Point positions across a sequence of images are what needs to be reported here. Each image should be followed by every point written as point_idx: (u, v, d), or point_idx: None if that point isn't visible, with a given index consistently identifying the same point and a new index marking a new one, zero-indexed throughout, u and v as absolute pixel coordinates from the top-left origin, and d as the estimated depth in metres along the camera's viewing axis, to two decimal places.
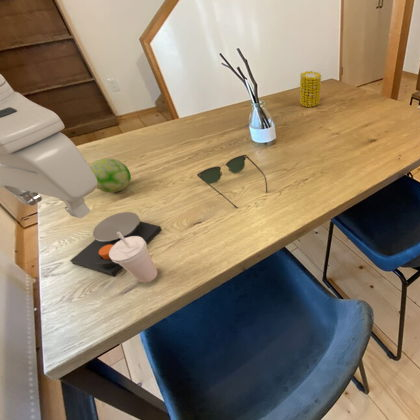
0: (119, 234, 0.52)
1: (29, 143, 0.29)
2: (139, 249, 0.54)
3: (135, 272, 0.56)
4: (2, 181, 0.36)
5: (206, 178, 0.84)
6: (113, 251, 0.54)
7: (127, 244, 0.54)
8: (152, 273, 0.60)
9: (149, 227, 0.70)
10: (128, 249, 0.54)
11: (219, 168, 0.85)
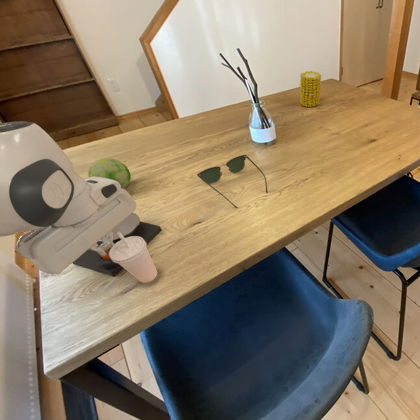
0: (119, 234, 0.52)
1: None
2: (139, 249, 0.54)
3: (135, 272, 0.56)
4: (91, 242, 0.56)
5: (206, 178, 0.84)
6: (113, 251, 0.54)
7: (127, 244, 0.54)
8: (152, 273, 0.60)
9: (149, 227, 0.70)
10: (128, 249, 0.54)
11: (219, 168, 0.85)
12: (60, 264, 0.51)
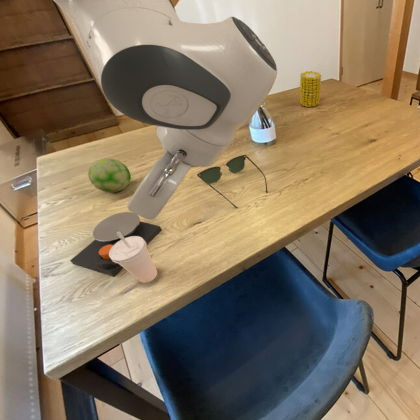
0: (119, 234, 0.52)
1: None
2: (139, 249, 0.54)
3: (135, 272, 0.56)
4: None
5: (206, 178, 0.84)
6: (113, 251, 0.54)
7: (127, 244, 0.54)
8: (152, 273, 0.60)
9: (149, 227, 0.70)
10: (128, 249, 0.54)
11: (219, 168, 0.85)
12: None
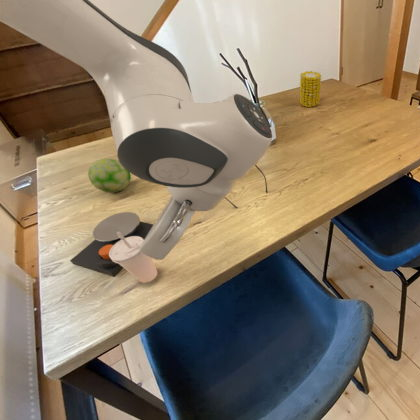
0: (119, 234, 0.52)
1: None
2: (139, 249, 0.54)
3: (135, 272, 0.56)
4: None
5: None
6: (113, 251, 0.54)
7: (127, 244, 0.54)
8: (152, 273, 0.60)
9: (149, 227, 0.70)
10: (128, 249, 0.54)
11: None
12: None
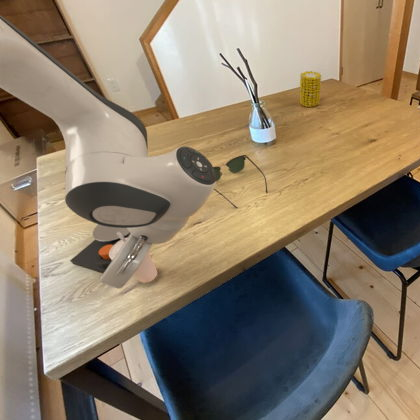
0: (119, 234, 0.52)
1: None
2: None
3: (135, 272, 0.56)
4: None
5: None
6: (113, 251, 0.54)
7: None
8: (152, 273, 0.60)
9: None
10: None
11: (219, 168, 0.85)
12: None
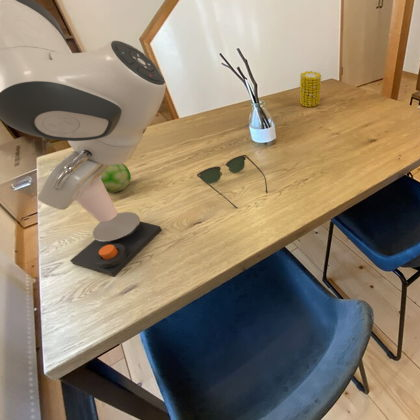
0: None
1: None
2: None
3: (89, 206, 0.52)
4: (94, 180, 0.48)
5: (206, 178, 0.84)
6: None
7: None
8: (111, 211, 0.55)
9: (149, 227, 0.70)
10: None
11: (219, 168, 0.85)
12: (72, 200, 0.44)
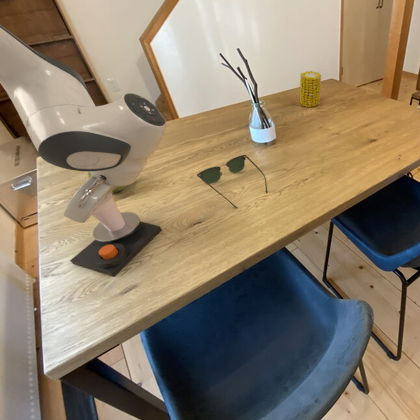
0: (85, 181, 0.58)
1: None
2: None
3: (102, 218, 0.63)
4: (106, 197, 0.59)
5: (206, 178, 0.84)
6: None
7: None
8: (120, 222, 0.66)
9: (149, 227, 0.70)
10: None
11: (219, 168, 0.85)
12: (90, 215, 0.54)
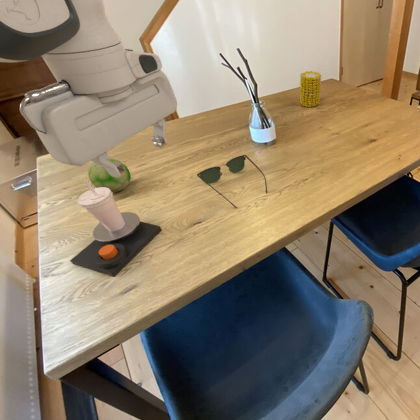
0: (85, 181, 0.58)
1: None
2: (105, 196, 0.61)
3: (102, 218, 0.63)
4: (123, 135, 0.40)
5: (205, 178, 0.84)
6: (81, 198, 0.60)
7: (94, 192, 0.60)
8: (120, 222, 0.66)
9: (149, 227, 0.70)
10: (95, 196, 0.60)
11: (219, 168, 0.85)
12: (83, 151, 0.36)
